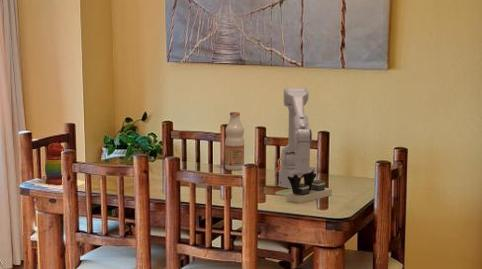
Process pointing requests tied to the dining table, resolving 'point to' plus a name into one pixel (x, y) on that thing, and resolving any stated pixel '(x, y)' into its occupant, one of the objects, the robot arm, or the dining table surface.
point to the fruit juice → (234, 143)
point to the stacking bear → (54, 164)
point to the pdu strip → (309, 196)
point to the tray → (284, 192)
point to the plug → (303, 189)
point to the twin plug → (318, 185)
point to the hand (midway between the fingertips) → (301, 192)
